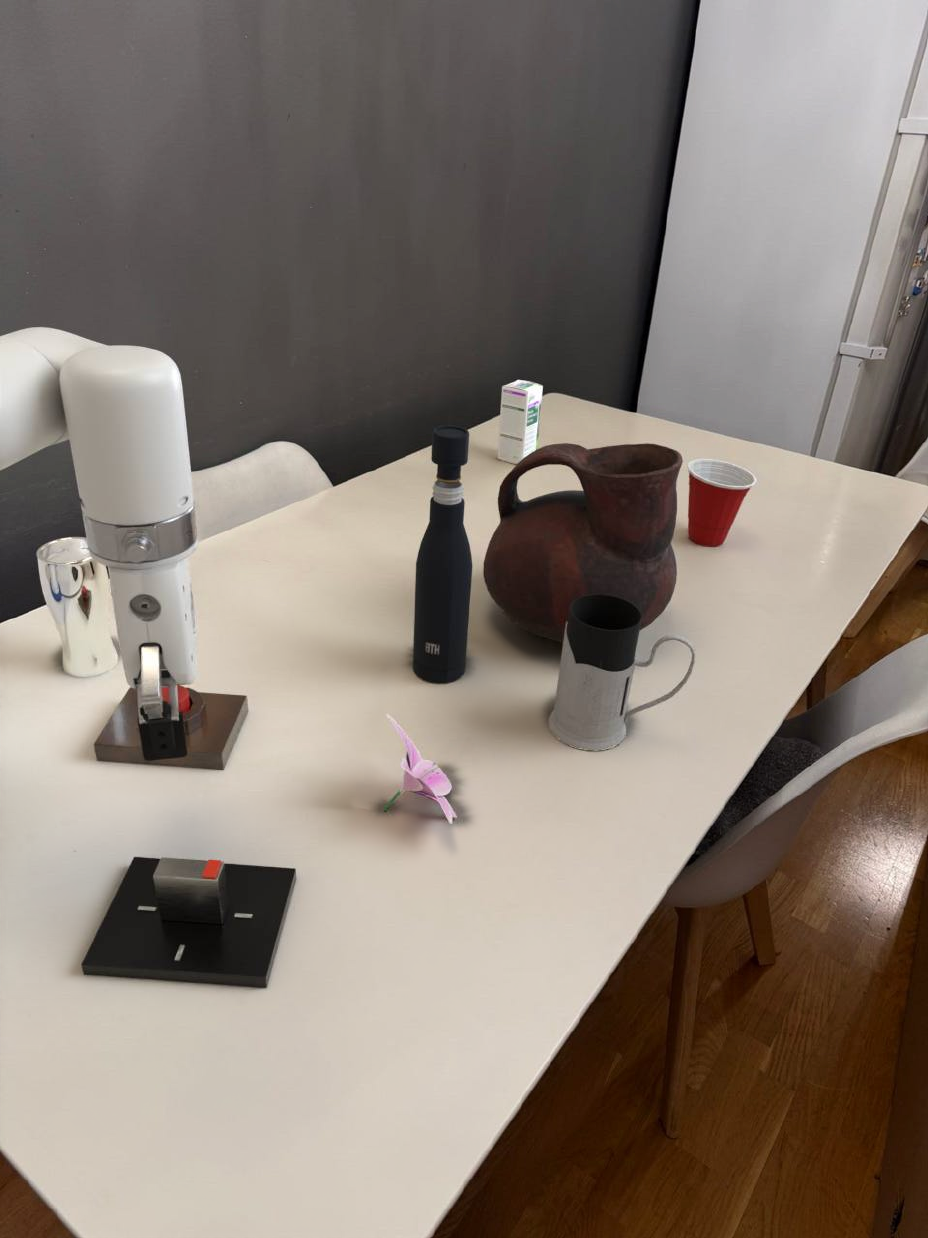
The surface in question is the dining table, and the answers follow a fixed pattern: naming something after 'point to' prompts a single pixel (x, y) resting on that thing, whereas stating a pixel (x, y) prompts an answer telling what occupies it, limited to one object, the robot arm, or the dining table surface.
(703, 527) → the plastic cup
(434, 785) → the lily
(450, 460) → the black insulated flask
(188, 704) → the power button
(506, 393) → the syrup box
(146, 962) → the panel
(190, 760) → the switch block
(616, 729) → the glass holder
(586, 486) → the jug
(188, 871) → the hob knob
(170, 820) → the dining table surface
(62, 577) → the beer glass
